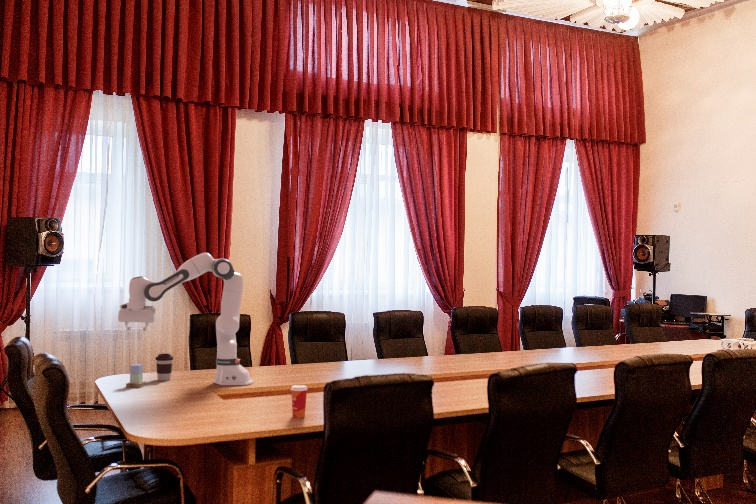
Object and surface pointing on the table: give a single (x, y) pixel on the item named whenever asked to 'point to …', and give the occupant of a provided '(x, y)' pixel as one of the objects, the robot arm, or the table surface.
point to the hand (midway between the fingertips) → (136, 330)
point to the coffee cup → (164, 366)
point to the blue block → (136, 369)
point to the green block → (136, 378)
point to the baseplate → (135, 385)
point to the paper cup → (298, 400)
